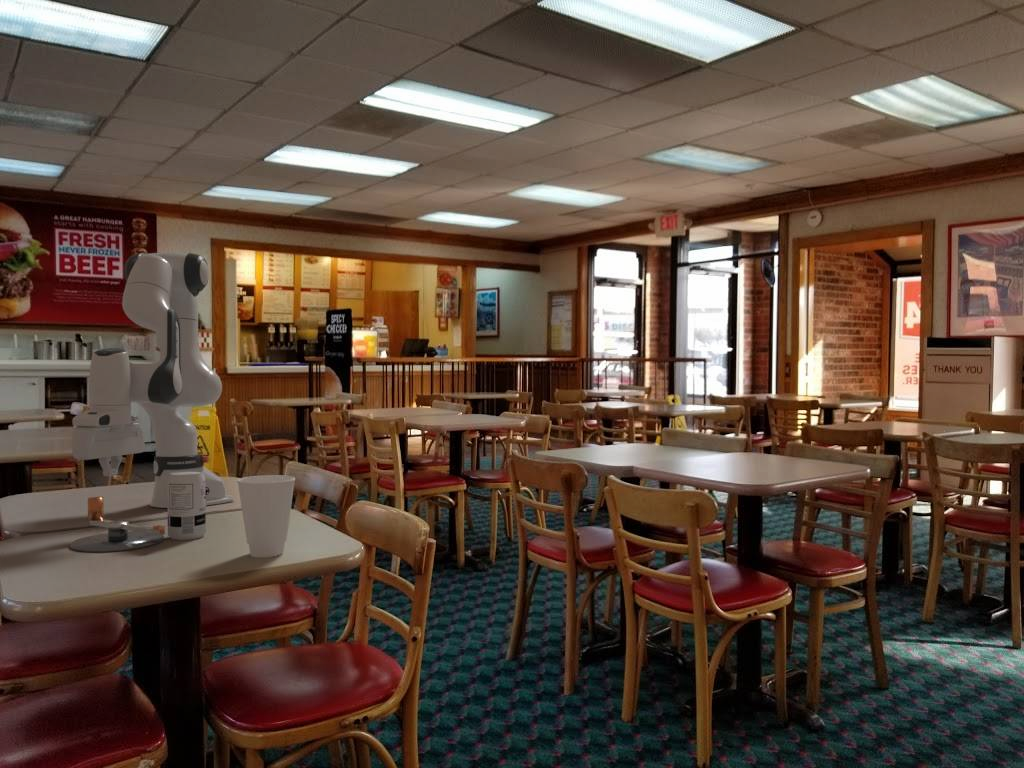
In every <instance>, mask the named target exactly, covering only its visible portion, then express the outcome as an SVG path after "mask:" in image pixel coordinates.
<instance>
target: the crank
mask: <svg viewBox="0 0 1024 768" xmlns="http://www.w3.org/2000/svg"><path fill="white" fill-rule="evenodd" d="M104 515H105V514H104V497H103V496H91V497H88V498H87V521H88V522H89V526H95V527H99V528H106V529H107V531H108V530H121V529H124V530H128V531H136V532H143V533H149V534H153V535H165V534H166V531H165V530H166V528H165V527H166V526H164V525H160V524H159V525H153V527H151V526H145V525H139V524H132V523H129V521H128V520H111V519H105V518H104Z"/></svg>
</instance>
